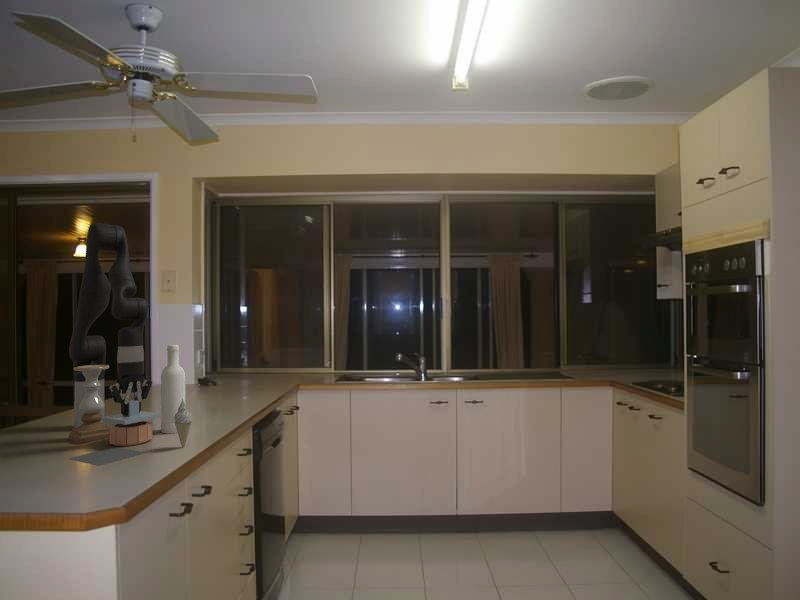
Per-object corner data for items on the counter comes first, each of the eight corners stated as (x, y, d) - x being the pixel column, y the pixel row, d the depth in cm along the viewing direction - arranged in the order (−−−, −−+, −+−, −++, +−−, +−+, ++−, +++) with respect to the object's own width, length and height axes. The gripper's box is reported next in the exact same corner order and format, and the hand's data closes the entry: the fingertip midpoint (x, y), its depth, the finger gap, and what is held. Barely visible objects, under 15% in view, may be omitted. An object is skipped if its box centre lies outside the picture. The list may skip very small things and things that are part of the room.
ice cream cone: (177, 446, 159) (177, 397, 159) (194, 446, 160) (194, 397, 160) (171, 451, 154) (171, 400, 154) (189, 450, 155) (188, 400, 155)
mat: (67, 460, 146) (67, 458, 146) (115, 448, 159) (115, 446, 159) (98, 467, 139) (98, 465, 139) (146, 454, 151) (146, 452, 151)
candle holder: (115, 437, 172) (115, 365, 172) (78, 444, 164) (78, 368, 164) (104, 432, 179) (104, 363, 180) (68, 439, 171) (67, 366, 172)
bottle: (176, 434, 176) (176, 345, 176) (156, 433, 177) (155, 345, 178) (190, 428, 183) (190, 344, 184) (170, 428, 185) (170, 344, 186)
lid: (101, 421, 162) (101, 402, 162) (137, 414, 173) (137, 396, 173) (124, 424, 156) (124, 405, 157) (160, 417, 167) (160, 399, 167)
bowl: (101, 445, 162) (101, 426, 162) (137, 436, 173) (136, 418, 173) (124, 449, 156) (124, 429, 156) (160, 440, 167) (160, 422, 167)
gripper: (143, 358, 173) (144, 409, 173) (101, 362, 161) (102, 417, 160) (158, 358, 169) (158, 411, 169) (116, 362, 157) (116, 419, 157)
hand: (131, 414), depth 165 cm, fingers closed on lid, 3 cm apart
